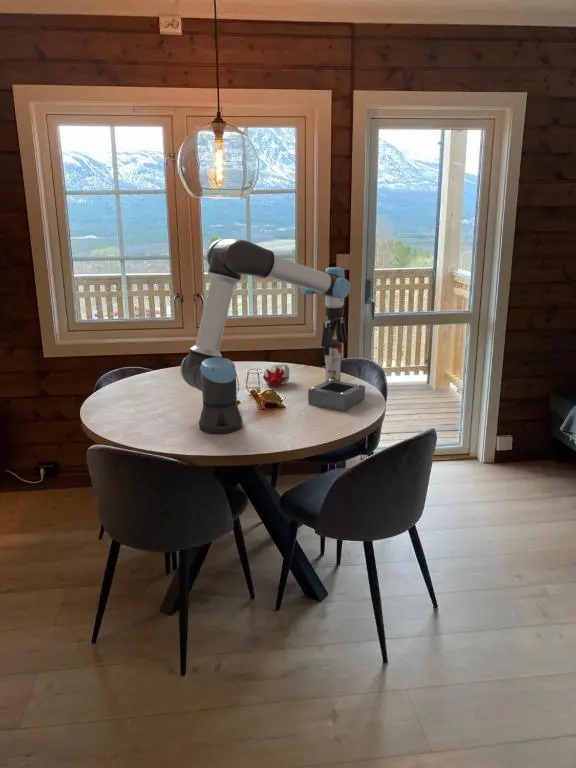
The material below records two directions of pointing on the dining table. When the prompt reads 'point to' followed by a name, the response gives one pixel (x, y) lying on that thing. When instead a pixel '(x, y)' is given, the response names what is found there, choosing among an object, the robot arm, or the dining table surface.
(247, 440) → the dining table surface
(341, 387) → the housing
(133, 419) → the dining table surface
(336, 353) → the liquor
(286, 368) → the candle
